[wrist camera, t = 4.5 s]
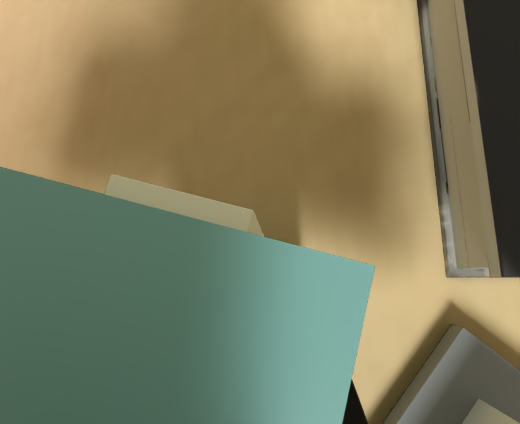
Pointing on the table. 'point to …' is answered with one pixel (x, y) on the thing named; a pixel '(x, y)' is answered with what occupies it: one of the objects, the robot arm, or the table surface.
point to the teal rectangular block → (166, 311)
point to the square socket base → (461, 386)
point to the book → (475, 130)
